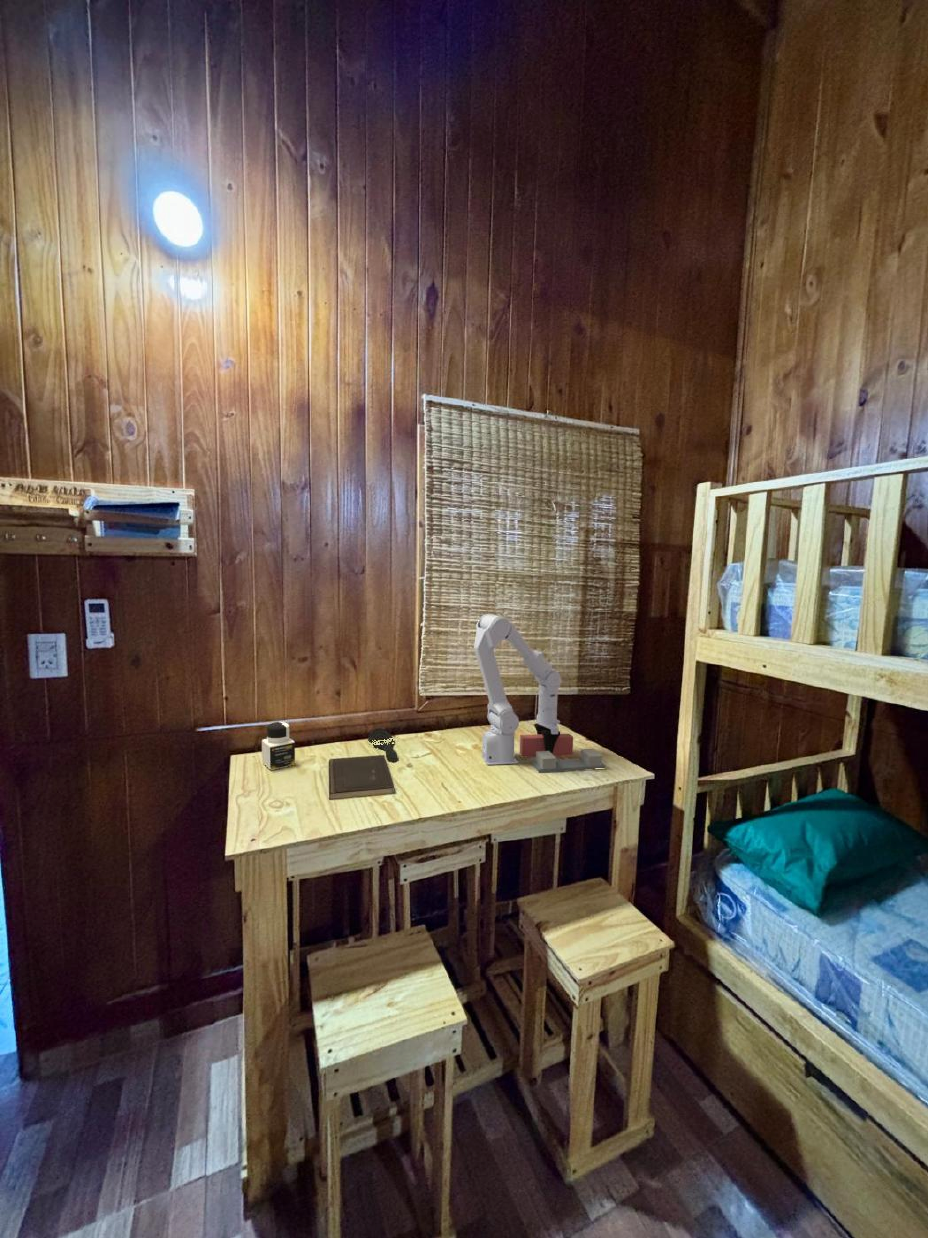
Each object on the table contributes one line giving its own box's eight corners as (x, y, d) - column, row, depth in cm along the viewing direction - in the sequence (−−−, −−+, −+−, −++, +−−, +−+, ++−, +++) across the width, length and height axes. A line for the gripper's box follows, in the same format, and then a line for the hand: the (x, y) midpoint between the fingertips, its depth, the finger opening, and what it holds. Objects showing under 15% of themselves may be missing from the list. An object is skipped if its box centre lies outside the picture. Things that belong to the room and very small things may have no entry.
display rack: (538, 772, 145) (539, 759, 145) (532, 764, 151) (532, 751, 150) (604, 769, 148) (605, 755, 148) (595, 761, 154) (596, 748, 154)
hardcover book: (384, 762, 152) (384, 754, 152) (394, 795, 130) (394, 786, 130) (328, 766, 148) (328, 759, 148) (329, 801, 126) (329, 792, 126)
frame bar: (522, 757, 157) (523, 738, 156) (519, 753, 160) (520, 735, 160) (572, 755, 159) (573, 737, 159) (568, 751, 163) (569, 733, 162)
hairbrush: (380, 756, 149) (365, 726, 172) (380, 768, 149) (365, 737, 172) (408, 753, 152) (389, 724, 175) (407, 765, 152) (389, 735, 175)
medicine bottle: (270, 771, 143) (269, 729, 141) (261, 763, 148) (261, 723, 147) (295, 765, 147) (295, 724, 146) (286, 758, 153) (285, 718, 151)
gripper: (568, 713, 152) (566, 757, 153) (551, 700, 166) (550, 741, 168) (546, 713, 151) (544, 758, 152) (530, 701, 165) (529, 742, 166)
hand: (546, 749), depth 160 cm, fingers open, 5 cm apart
